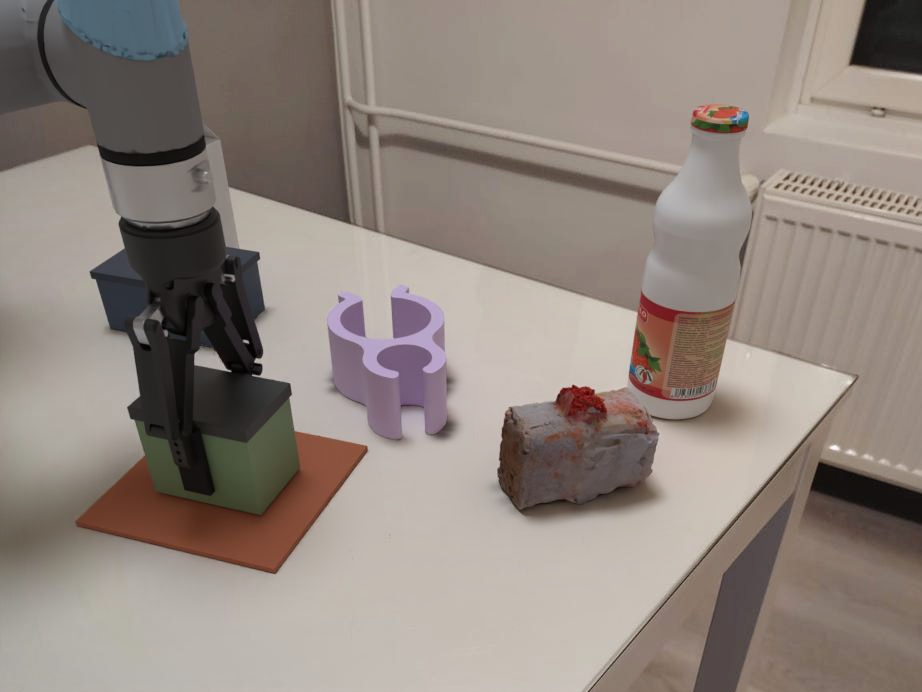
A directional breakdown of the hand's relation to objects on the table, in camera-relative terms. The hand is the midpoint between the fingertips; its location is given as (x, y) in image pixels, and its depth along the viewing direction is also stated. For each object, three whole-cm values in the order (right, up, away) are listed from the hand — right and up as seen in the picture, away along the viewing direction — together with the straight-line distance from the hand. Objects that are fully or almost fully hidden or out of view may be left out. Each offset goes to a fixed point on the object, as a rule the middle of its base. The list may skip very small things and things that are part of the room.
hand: (225, 463), depth 84 cm
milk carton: (-13, +34, +37) cm, 51 cm away
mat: (0, -2, +2) cm, 3 cm away
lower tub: (-12, +23, +26) cm, 36 cm away
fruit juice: (+45, +10, +14) cm, 48 cm away
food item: (+33, -2, +3) cm, 33 cm away
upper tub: (0, -1, +1) cm, 2 cm away
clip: (+14, +11, +15) cm, 24 cm away
